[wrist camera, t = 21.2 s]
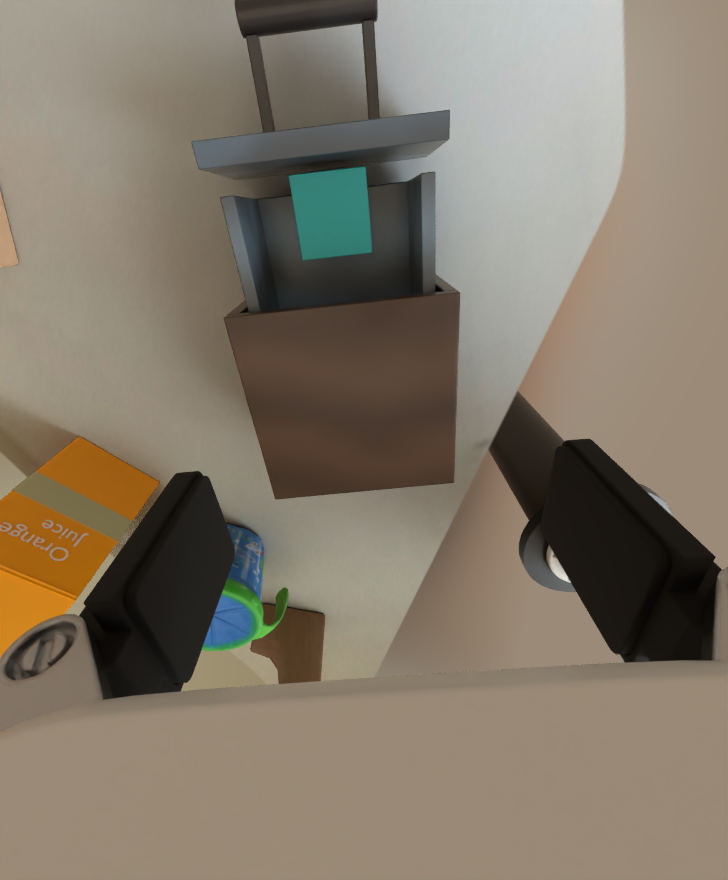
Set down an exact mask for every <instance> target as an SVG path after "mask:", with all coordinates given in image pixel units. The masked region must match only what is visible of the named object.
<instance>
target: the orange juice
mask: <svg viewBox="0 0 728 880" xmlns="http://www.w3.org/2000/svg"><path fill="white" fill-rule="evenodd" d="M159 483H160V482H158V481H157V480H155V479H153V478H151V477H150V476H148V475H146V474H144V473H143V472H141V471H139V470H137V469H136V468H134V467H132V466H130V465H129V464H127V463H125V462H123V461H122V460H120V459H118V458H116V457H115V456H113V455H111V454H109V453H108V452H106V451H104V450H102V449H101V448H99V447H97V446H95V445H94V444H92V443H90V442H88V441H87V440H85V439H83V438H81V437H80V436H79V437H77V438H76V439H75V440H74V441H73V442H71V443H70V444H69V445H68V446H66V447H65V448H64V449H63V450H62V451H60V452H59V453H58V454H57V455H55V456H54V457H53V458H52V459H51V460H49V461H48V462H47V463H46V464H44V465H43V466H42V467H41V468H39V469H38V470H37V471H35V472H34V473H32V474H31V475H30V476H29V477H27V478H26V479H25V480H24V481H23V482H21V483H20V484H19V485H18V486H16V487H15V488H14V489H13V490H12V491H11V492H10V493H9V494H8V495H7V496H5V497H4V498H3V499H2V500H0V658H1V656H2V655H3V653H4V652H5V651H6V650H7V649H8V648H9V647H10V645H11V644H12V643H13V642H14V641H15V640H17V639H18V638H19V637H20V636H21V635H23V634H24V633H25V632H26V631H28V630H29V629H31V628H33V627H34V626H36V625H37V624H39V623H41V622H43V621H46V620H48V619H50V618H52V617H56V616H60V615H64V614H65V613H66V611H67V610H68V609H69V608H70V607H71V605H72V604H73V603H74V602H75V601H76V599H77V598H78V597H79V595H80V594H81V592H82V591H83V590H84V588H85V587H86V585H87V584H88V583H89V581H90V580H91V578H92V577H93V576H94V574H95V573H96V571H97V570H98V569H99V567H100V566H101V564H102V563H103V562H104V560H105V559H106V557H107V556H108V555H109V553H110V552H111V550H112V549H113V548H114V546H115V545H116V544H117V543H118V541H119V540H120V539H121V537H122V536H123V534H124V533H125V532H126V530H127V529H128V527H129V526H130V525H131V523H132V522H133V520H134V518H135V517H136V515H137V514H138V513H139V511H140V510H141V508H142V507H143V506H144V504H145V503H146V501H147V500H148V498H149V497H150V496H151V494H152V493H153V491H154V490H155V489H156V487H157V486H158V484H159Z"/></svg>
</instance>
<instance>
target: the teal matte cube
mask: <svg viewBox="0 0 728 880" xmlns="http://www.w3.org/2000/svg"><path fill="white" fill-rule="evenodd" d="M288 177H289V183H290V189H291V195H292V201H293V207H294V213H295V219H296V225H297V231H298V237H299V243H300V249H301V255H302V260H312V259H321V258H330V257H339V256H347V255H356V254H365V253H372V241H371V228H370V215H369V202H368V189H367V177H366V167H365V166H361V167H353V168H344V169H336V170H327V171H319V172H310V173H302V174H294V175H289V176H288Z"/></svg>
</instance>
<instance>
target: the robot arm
mask: <svg viewBox="0 0 728 880" xmlns="http://www.w3.org/2000/svg"><path fill="white" fill-rule="evenodd" d="M541 529H542V533H543V535H544V537H545V539H546V541H547V542H548V544H549V545H548V548H547V552H546V559H547V562H548V565H549V566H550V568H551V570H552V572H553V573H554V574H555V575H556V576H557V577H559V578H560V579H562V580H564V581H567V582H570V583H572V585H573V587H574V588H575V590H576V592H577V593H578V595H579V597H580V599H581V600H582V602H583V604H584V605H585V607H586V609H587V611H588V612H589V614H590V616H591V617H592V619H593V621H594V622H595V624H596V626H597V628H598V629H599V631H600V633H601V634H602V636H603V638H604V639H605V641H606V643H607V645H608V646H609V648H610V649H611V651H613V652H614V653H615V654H616V655H617V656H618V658H619V660H620V661H621V663H607V664H587V665H571V666H555V667H537V668H520V669H502V670H487V671H469V672H455V673H438V674H422V675H406V676H392V677H376V678H360V679H345V680H330V681H315V682H301V683H287V684H273V685H258V686H245V687H230V688H216V689H205V690H204V689H203V690H192V691H181V689H182V686H183V683H187V682H188V681H189V680H190V678H191V677H192V674H193V672H194V669H195V666H196V664H197V661H198V658H199V655H200V652H201V650H202V647H203V644H204V641H205V639H206V636H207V633H208V630H209V628H210V625H211V622H212V619H213V617H214V614H215V611H216V608H217V605H218V603H219V600H220V597H221V594H222V592H223V589H224V586H225V583H226V581H227V578H228V575H229V572H230V569H231V567H232V564H233V561H234V558H235V547H234V544H233V541H232V538H231V536H230V533H229V530H228V528H227V525H226V522H225V519H224V517H223V514H222V511H221V509H220V506H219V503H218V500H217V498H216V495H215V492H214V490H213V487H212V484H211V481H210V479H209V478H208V477H207V476H203V475H202V473H201V472H199V471H195V472H183V473H176V474H175V475H174V476H173V478H172V479H171V481H170V482H169V483H168V485H167V486H166V488H165V489H164V490H163V492H162V493H161V495H160V496H159V497H158V499H157V500H156V502H155V503H154V504H153V506H152V507H151V509H150V510H149V511H148V513H147V514H146V516H145V517H144V518H143V520H142V521H141V523H140V524H139V525H138V527H137V528H136V530H135V531H134V533H133V534H132V535H131V537H130V538H129V540H128V541H127V542H126V544H125V545H124V547H123V548H122V549H121V551H120V552H119V554H118V555H117V556H116V558H115V559H114V561H113V562H112V563H111V565H110V566H109V568H108V569H107V571H106V572H105V573H104V575H103V576H102V577H101V579H100V580H99V582H98V583H97V584H96V586H95V587H94V589H93V590H92V592H91V593H90V594H89V596H88V597H87V599H86V600H85V601H84V604H85V606H86V607H85V608H84V610H83V611H82V612H81V614H80V615H79V616H77V615H75V614H64V615H60V616H56V617H52V618H50V619H48V620H46V621H43V622H41V623H39V624H37V625H36V626H34V627H33V628H31V629H29V630H28V631H26V632H25V633H24V634H23V635H21V636H20V637H19V638H18V639H17V640H15V641H14V642H13V643H12V644H11V645H10V647H9V648H8V649H7V650H6V651H5V652H4V653H3V655H2V656H1V658H0V880H728V567H727V568H725V569H724V570H721V568H719V567H718V566H717V565H716V564H715V563H714V562H713V561H714V559H715V556H714V555H713V554H712V553H711V552H710V551H709V550H707V548H706V547H704V546H703V545H702V544H701V543H700V542H699V541H698V540H697V539H696V538H695V537H694V536H693V535H692V534H691V533H690V532H689V531H687V529H685V528H684V527H683V526H682V525H681V524H680V523H679V522H678V521H677V520H676V519H675V518H674V517H673V516H672V515H671V514H670V513H669V512H667V511H666V510H665V509H664V508H663V507H662V506H661V505H660V504H659V503H658V502H657V501H656V500H655V499H654V498H653V497H652V496H651V495H649V494H648V493H647V492H646V491H645V490H644V489H643V488H642V487H641V486H640V485H639V484H638V483H637V482H636V481H635V480H634V479H633V478H631V477H630V476H629V475H628V474H627V473H626V472H625V471H624V470H623V469H622V468H621V467H620V466H619V465H617V463H615V461H613V460H612V459H611V458H610V457H609V456H608V455H607V454H606V453H605V452H604V451H603V450H602V449H601V448H600V447H599V446H598V445H596V444H595V443H594V442H593V441H592V440H591V439H579V440H567V441H565V442H564V443H563V444H562V446H560V447H557V449H556V451H555V456H554V461H553V466H552V471H551V476H550V481H549V486H548V491H547V496H546V501H545V506H544V511H543V516H542V521H541Z"/></svg>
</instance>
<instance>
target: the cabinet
mask: <svg viewBox="0 0 728 880" xmlns="http://www.w3.org/2000/svg"><path fill="white" fill-rule="evenodd" d="M459 310H460V292H459V291H457V290H456V289H455V288H453V287H452V286H451V285H449V284H448V283H447V282H445V281H444V280H442V279H441V278H440V277H438V276H437V275H436V274H435V292H434V293H425V294H415V295H406V296H397V297H388V298H378V299H369V300H360V301H351V302H342V303H332V304H323V305H314V306H305V307H295V308H286V309H277V310H268V311H259V312H248V308H247V304H246V300H245V301H244V302H243V303H241V304H240V305H239V306H238V307H236V308H235V309H234V310H233V311H231V312H230V313H229V314H228V315H227V316H225V317H224V321H225V325H226V328H227V332H228V335H229V339H230V342H231V346H232V349H233V353H234V356H235V360H236V363H237V367H238V370H239V374H240V377H241V381H242V384H243V388H244V391H245V395H246V398H247V402H248V405H249V409H250V412H251V416H252V419H253V423H254V426H255V430H256V433H257V437H258V440H259V444H260V447H261V451H262V454H263V458H264V461H265V465H266V468H267V472H268V475H269V479H270V482H271V486H272V489H273V493H274V496H275V499H285V498H296V497H306V496H317V495H328V494H338V493H349V492H360V491H370V490H381V489H392V488H402V487H413V486H424V485H434V484H445V483H454V467H455V436H456V404H457V373H458V342H459Z"/></svg>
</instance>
